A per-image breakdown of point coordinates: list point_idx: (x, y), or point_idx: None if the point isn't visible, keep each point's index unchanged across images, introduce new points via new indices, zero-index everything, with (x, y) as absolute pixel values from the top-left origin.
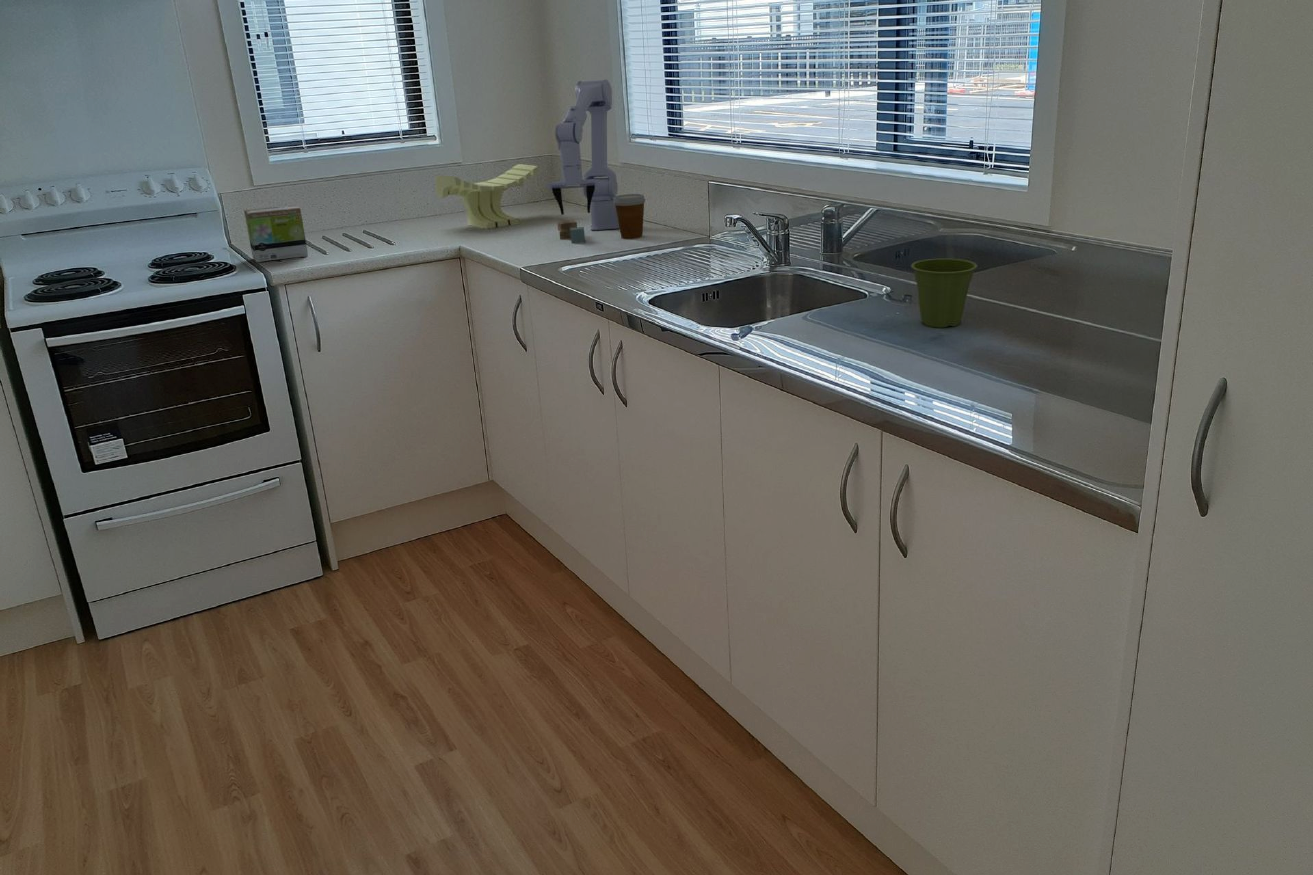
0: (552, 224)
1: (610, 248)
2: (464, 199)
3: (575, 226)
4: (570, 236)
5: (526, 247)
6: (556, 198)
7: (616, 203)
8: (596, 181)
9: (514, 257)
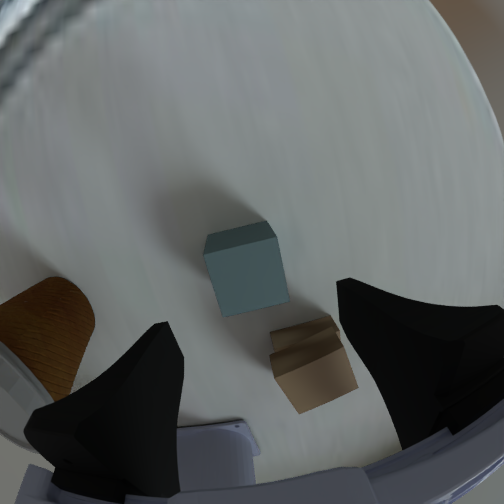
0: (354, 459)
1: (72, 93)
2: None
3: (278, 363)
4: (294, 331)
5: (425, 173)
6: (446, 308)
7: (11, 362)
8: (23, 502)
9: (407, 12)
